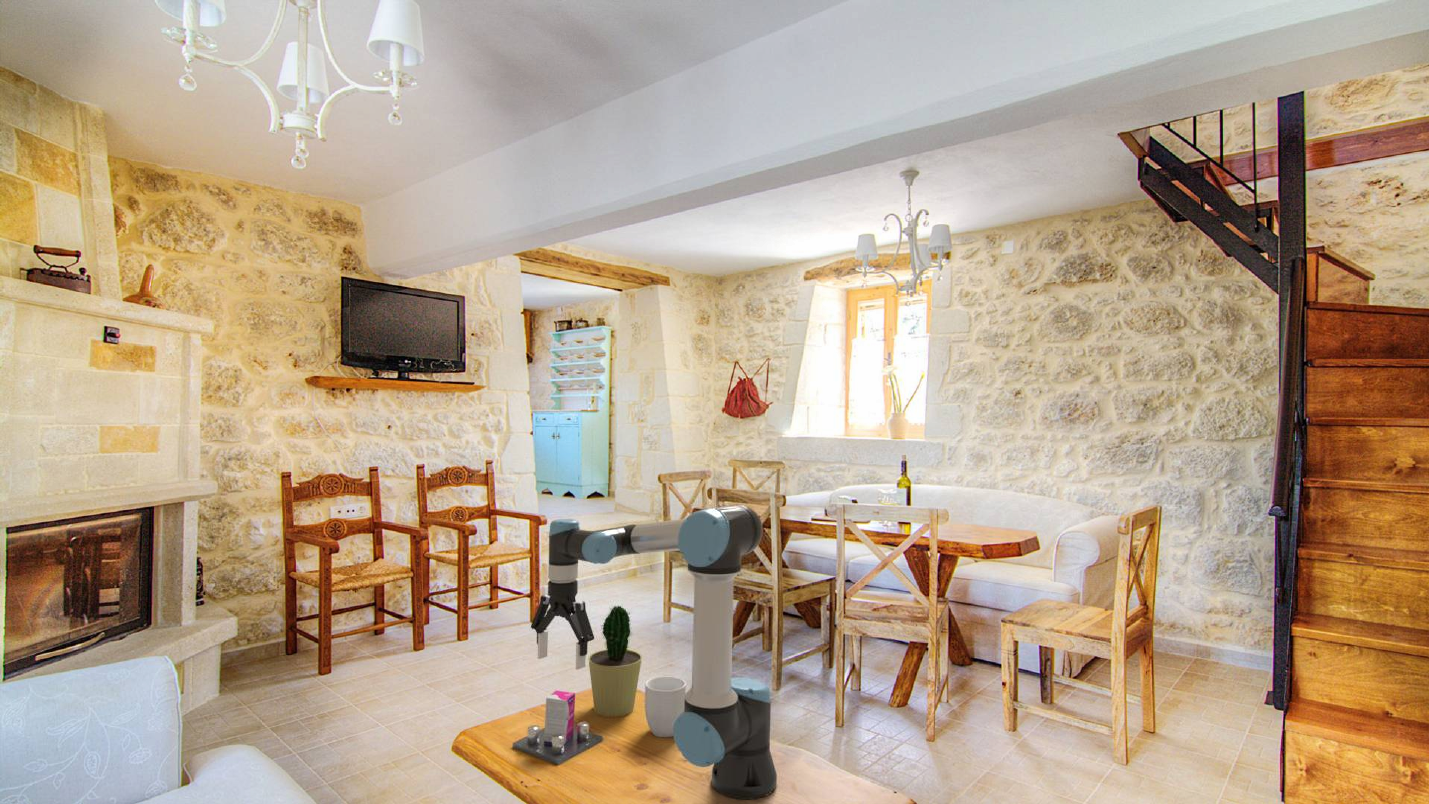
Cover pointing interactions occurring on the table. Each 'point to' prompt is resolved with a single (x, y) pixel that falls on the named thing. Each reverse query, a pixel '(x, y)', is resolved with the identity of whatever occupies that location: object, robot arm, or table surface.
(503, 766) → the table surface
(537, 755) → the chassis
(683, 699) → the mug
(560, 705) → the supplement box
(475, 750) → the table surface
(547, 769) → the table surface
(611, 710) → the potted cactus
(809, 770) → the table surface
